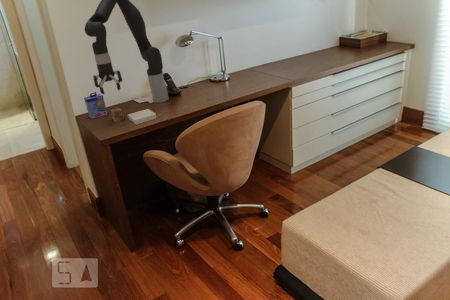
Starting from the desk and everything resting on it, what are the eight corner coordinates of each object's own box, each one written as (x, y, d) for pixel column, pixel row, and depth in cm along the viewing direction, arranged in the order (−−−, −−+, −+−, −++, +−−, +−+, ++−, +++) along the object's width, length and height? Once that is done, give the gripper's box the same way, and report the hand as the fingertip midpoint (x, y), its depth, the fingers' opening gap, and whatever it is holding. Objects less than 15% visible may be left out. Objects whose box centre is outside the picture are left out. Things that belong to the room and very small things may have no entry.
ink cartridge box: (92, 119, 208) (84, 95, 202) (89, 117, 212) (81, 93, 206) (108, 114, 213) (101, 90, 207) (105, 112, 217) (98, 89, 211)
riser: (148, 112, 207) (147, 108, 206) (156, 118, 198) (155, 113, 197) (128, 118, 202) (127, 114, 201) (135, 124, 193) (134, 119, 191)
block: (121, 117, 205) (119, 107, 203) (124, 119, 201) (121, 109, 199) (113, 120, 203) (110, 109, 200) (115, 122, 199) (112, 112, 196)
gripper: (114, 58, 194) (121, 87, 201) (88, 63, 188) (96, 93, 195) (118, 60, 188) (125, 90, 195) (91, 65, 182) (99, 96, 189)
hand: (111, 91), depth 195 cm, fingers open, 8 cm apart
